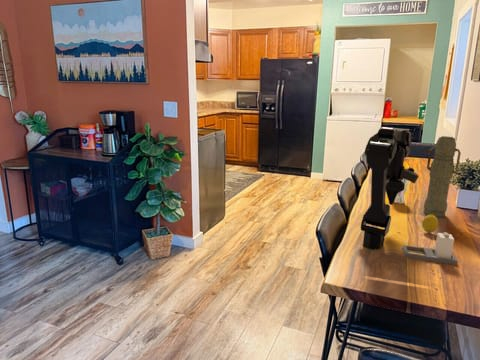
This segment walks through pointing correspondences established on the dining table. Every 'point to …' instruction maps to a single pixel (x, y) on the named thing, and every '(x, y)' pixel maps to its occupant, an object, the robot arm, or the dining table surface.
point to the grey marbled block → (401, 193)
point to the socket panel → (426, 254)
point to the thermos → (440, 175)
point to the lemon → (430, 223)
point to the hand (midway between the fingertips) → (390, 200)
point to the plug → (444, 245)
